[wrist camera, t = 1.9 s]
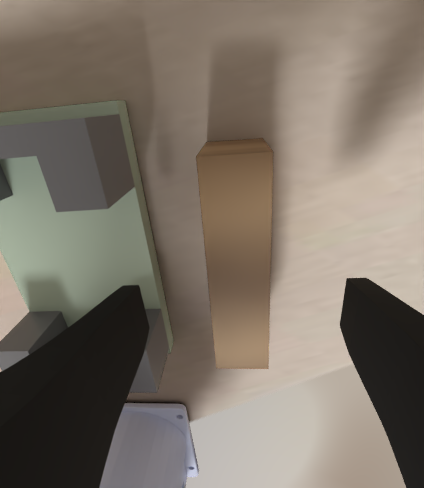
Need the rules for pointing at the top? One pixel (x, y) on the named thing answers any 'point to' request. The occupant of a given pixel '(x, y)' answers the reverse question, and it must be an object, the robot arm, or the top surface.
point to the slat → (238, 247)
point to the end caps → (77, 199)
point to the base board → (76, 233)
